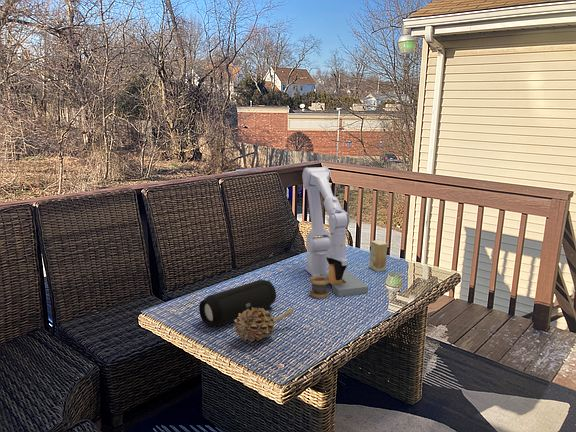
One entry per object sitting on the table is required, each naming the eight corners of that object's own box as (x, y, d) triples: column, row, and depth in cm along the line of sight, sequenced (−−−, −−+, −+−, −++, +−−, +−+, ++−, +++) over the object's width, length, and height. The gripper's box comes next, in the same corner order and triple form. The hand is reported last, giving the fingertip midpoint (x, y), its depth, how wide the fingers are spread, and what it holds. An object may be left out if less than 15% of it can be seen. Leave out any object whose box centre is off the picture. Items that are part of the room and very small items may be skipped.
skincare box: (368, 267, 198) (370, 240, 195) (377, 266, 200) (378, 239, 197) (377, 272, 192) (379, 244, 190) (386, 270, 194) (387, 243, 191)
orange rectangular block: (328, 281, 177) (328, 264, 176) (337, 280, 179) (338, 263, 177) (332, 285, 174) (333, 267, 172) (342, 284, 175) (342, 266, 173)
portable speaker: (215, 333, 140) (214, 303, 137) (198, 322, 147) (196, 293, 144) (277, 309, 157) (278, 282, 154) (259, 300, 164) (259, 274, 161)
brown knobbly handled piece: (247, 354, 128) (247, 321, 126) (227, 341, 135) (226, 310, 133) (302, 328, 143) (302, 299, 141) (281, 318, 150) (281, 290, 148)
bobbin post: (307, 291, 172) (307, 276, 170) (324, 289, 174) (324, 274, 172) (313, 299, 165) (314, 283, 164) (331, 296, 167) (332, 281, 166)
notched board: (320, 279, 184) (320, 273, 184) (347, 276, 188) (347, 270, 187) (338, 296, 167) (338, 290, 167) (367, 292, 171) (368, 286, 170)
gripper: (320, 239, 178) (319, 272, 181) (335, 250, 165) (334, 285, 168) (337, 237, 180) (336, 270, 183) (353, 248, 167) (351, 283, 170)
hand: (336, 277), depth 176 cm, fingers closed on orange rectangular block, 4 cm apart
